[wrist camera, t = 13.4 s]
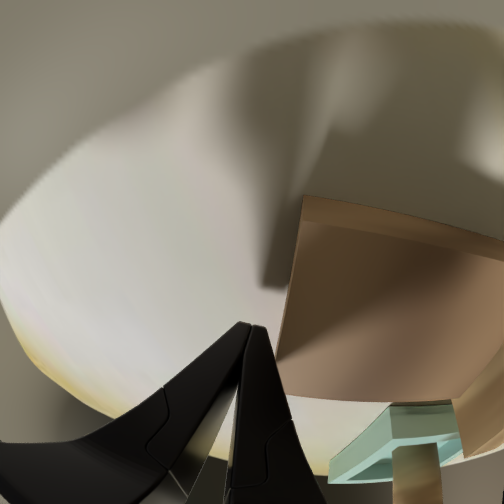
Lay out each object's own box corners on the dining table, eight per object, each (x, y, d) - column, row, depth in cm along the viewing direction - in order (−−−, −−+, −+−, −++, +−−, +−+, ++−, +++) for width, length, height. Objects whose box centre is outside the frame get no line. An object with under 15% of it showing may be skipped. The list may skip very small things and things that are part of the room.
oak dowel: (444, 433, 11) (453, 521, 5) (418, 452, 12) (421, 531, 6) (408, 437, 11) (411, 535, 5) (383, 455, 13) (381, 541, 7)
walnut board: (506, 239, 6) (541, 272, 4) (445, 357, 9) (459, 397, 7) (303, 191, 7) (302, 220, 5) (277, 342, 10) (268, 391, 8)
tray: (494, 399, 10) (501, 422, 8) (423, 456, 14) (425, 475, 12) (388, 406, 11) (392, 439, 9) (329, 461, 15) (327, 483, 13)
